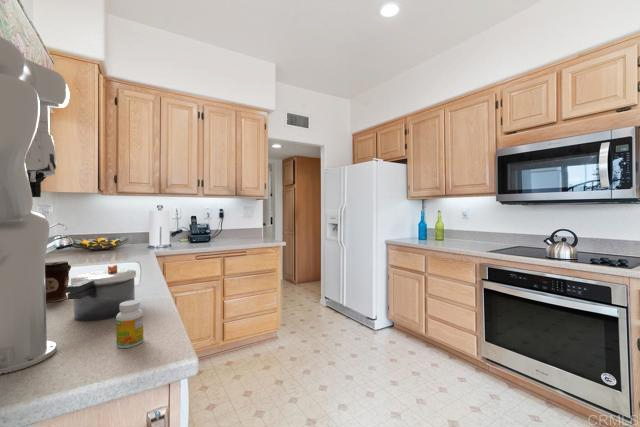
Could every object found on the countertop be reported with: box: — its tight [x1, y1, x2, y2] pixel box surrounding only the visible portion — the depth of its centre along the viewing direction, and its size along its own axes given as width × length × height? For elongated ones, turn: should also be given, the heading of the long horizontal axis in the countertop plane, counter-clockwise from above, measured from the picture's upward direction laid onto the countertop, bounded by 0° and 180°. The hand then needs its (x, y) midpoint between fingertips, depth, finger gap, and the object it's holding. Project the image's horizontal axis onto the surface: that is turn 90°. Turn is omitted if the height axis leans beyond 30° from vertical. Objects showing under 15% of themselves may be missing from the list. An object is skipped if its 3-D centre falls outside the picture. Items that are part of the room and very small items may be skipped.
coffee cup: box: [45, 260, 72, 303], centre depth 100 cm, size 9×8×13 cm
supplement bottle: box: [115, 299, 144, 349], centre depth 69 cm, size 5×5×10 cm
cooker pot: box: [67, 277, 136, 322], centre depth 87 cm, size 23×15×10 cm, turn 7°
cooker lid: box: [66, 264, 137, 294], centre depth 86 cm, size 22×16×3 cm
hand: (32, 196), depth 79 cm, fingers closed
